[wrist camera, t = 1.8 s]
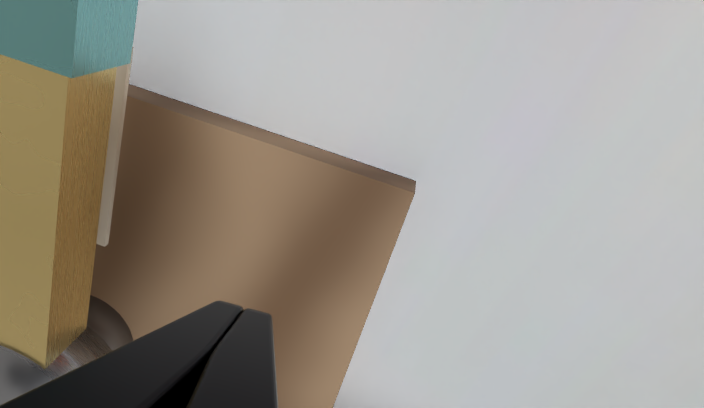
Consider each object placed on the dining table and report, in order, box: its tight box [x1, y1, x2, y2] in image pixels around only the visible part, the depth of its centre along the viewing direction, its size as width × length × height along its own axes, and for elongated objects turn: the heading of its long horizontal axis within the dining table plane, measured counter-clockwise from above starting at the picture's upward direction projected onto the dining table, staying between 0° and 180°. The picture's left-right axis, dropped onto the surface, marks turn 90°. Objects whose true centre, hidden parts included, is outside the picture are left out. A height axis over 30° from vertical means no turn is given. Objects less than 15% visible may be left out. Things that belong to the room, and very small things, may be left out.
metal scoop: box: [0, 0, 138, 405], centre depth 14 cm, size 16×6×2 cm, turn 163°
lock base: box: [87, 47, 416, 408], centre depth 17 cm, size 20×19×5 cm
